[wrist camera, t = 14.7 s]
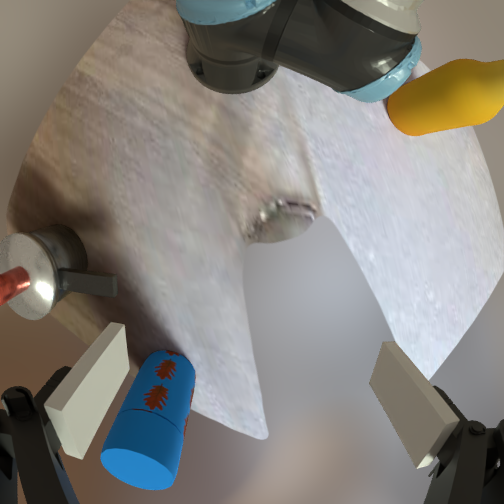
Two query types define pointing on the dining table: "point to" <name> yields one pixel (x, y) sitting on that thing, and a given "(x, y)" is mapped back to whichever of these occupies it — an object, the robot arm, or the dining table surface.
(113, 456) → the thermos
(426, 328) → the dining table surface
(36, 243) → the lid
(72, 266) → the pot
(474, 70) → the beer bottle
